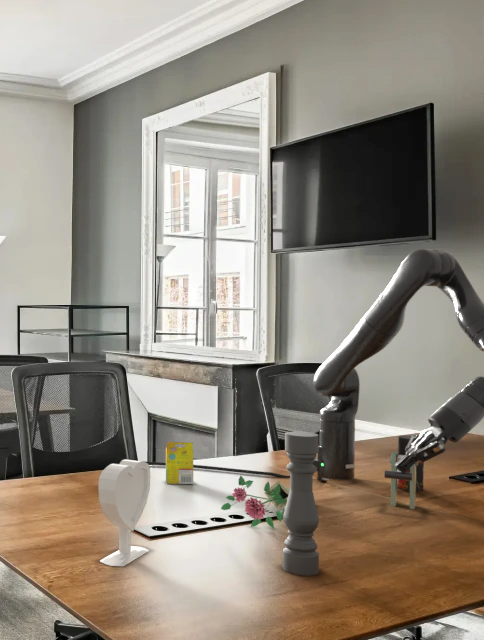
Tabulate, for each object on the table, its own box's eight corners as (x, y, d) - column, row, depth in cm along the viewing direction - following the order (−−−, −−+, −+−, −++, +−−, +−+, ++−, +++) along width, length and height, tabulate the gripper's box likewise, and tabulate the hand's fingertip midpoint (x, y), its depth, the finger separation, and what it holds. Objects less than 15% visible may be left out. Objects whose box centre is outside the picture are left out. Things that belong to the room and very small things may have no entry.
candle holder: (276, 564, 139) (277, 431, 138) (308, 563, 139) (309, 431, 139) (292, 575, 132) (293, 436, 132) (325, 575, 133) (326, 436, 133)
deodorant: (426, 497, 192) (427, 439, 192) (401, 496, 193) (402, 438, 193) (418, 492, 198) (419, 436, 198) (394, 490, 199) (395, 435, 199)
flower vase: (314, 542, 177) (263, 543, 150) (267, 518, 185) (210, 514, 158) (333, 497, 176) (286, 490, 150) (285, 474, 184) (232, 464, 158)
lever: (412, 483, 165) (412, 472, 165) (384, 480, 168) (384, 469, 168) (417, 466, 177) (417, 456, 177) (391, 463, 180) (391, 454, 180)
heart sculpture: (118, 569, 135) (119, 471, 135) (94, 563, 138) (94, 467, 138) (153, 548, 148) (154, 458, 148) (130, 543, 151) (131, 455, 151)
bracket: (423, 518, 171) (423, 459, 171) (379, 512, 176) (380, 455, 176) (426, 509, 180) (426, 452, 179) (384, 504, 184) (385, 449, 184)
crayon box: (192, 482, 207) (192, 440, 207) (193, 484, 204) (194, 442, 204) (165, 481, 208) (165, 440, 208) (166, 483, 205) (166, 442, 205)
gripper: (431, 401, 172) (375, 452, 174) (458, 408, 159) (397, 462, 161) (456, 424, 171) (399, 475, 173) (484, 433, 158) (423, 488, 160)
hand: (398, 469), depth 167 cm, fingers closed
